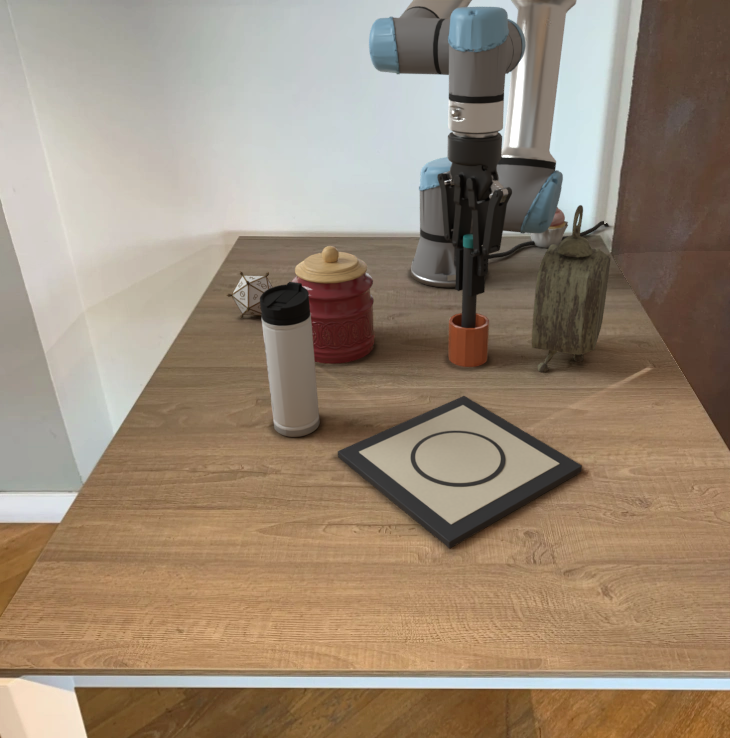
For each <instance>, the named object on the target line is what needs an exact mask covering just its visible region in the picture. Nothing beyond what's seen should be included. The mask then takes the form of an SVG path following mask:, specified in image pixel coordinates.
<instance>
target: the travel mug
mask: <svg viewBox="0 0 730 738" xmlns="http://www.w3.org/2000/svg"><path fill="white" fill-rule="evenodd" d="M260 306H261V312H262V313H261V315H260V316H261V326H262V334H263V342H264V352H265V360H266V369H267V377H268V387H269V394H270V404H271V411H272V417H273V419H272V420H273V428H274V430H275V432H277V433H278V434H279V435H281V436H284V437H289V438H299V437H304V436H308V435H310V434H312V433H313V432H315V431H316V430H317V429H318V428H319V426H320V423H321V422H320V410H319V398H318V386H317V375H316V374H317V373H316V362H315V360H314V348H313V336H312V324H311V313H310V305H309V293H308V291H307V289H306V288H304V287H302V283H296V282H292V281H289V282H288V283H286V284H280V285H276V286H272V288H270V289H268V290H266V291H265V292H264V293H263V294H262V295H261V297H260Z"/></svg>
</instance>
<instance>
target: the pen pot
mask: <svg viewBox="0 0 730 738" xmlns="http://www.w3.org/2000/svg"><path fill="white" fill-rule="evenodd" d="M461 322H462V312H459V313H456V314H454V315H452V316H450V317H449V320H448V341H447V342H448V345H447V346H448V347H447V351H448V352H447V358H448V360H449V362H451V363H452V364H453V365H456V366H458V367H464V368H473V367H479V366H483V365H484V364H485V363H487V361H488V357H489V340H490V319H489V318H488V317H487V316H485V315H484V314H481V313H477V312H476V326H475V328H463V327H461Z"/></svg>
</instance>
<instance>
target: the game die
mask: <svg viewBox="0 0 730 738" xmlns="http://www.w3.org/2000/svg"><path fill="white" fill-rule="evenodd" d="M239 275H240V276H241V277H240V279H239V280H238V282H237V284H236V286H235V287H234V289H233V291H232V293H227V294H226V296H227V297H228V298H232V299H233V301H234V303H235V305H236V306H237V308H238V310H239V312H240V313H241V314H240V316H239V319H243V318H244V316H262V315H261V313H262V312H261V306H260V297H261V295H262V294H263V293H264V292H265V291H266V290H268V289H270V288H272V287H273V285H272V283H271V282H270V279H269V278H268V277H269V275H270V272H269V271H267V272H266V273H265V275H258V274H257V275H255V274H254V275H253V274H251V275H249V274H244V273H243V271H241V270H240V271H239Z"/></svg>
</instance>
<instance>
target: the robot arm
mask: <svg viewBox="0 0 730 738" xmlns="http://www.w3.org/2000/svg"><path fill="white" fill-rule="evenodd" d="M472 1H473V0H412V1H411V2H410V4H409V5H408V6H407V7H406V8H405V10H404V11H403V13H402V14H400V16H399V17H395V16H389V17H380V18H377V19H376V20H375V21H374V22H373V23H372V25H371V28H370V30H369V37H368V48H369V49H368V50H369V58H370V61H371V63H372V65H373V68H374V69H375V70H377V71H378V72H382V73H391V74H396V75H400V74H401V75H403V74H404V75H443V76H448V111H447V112H448V113H447V114H448V115H447V116H448V117H447V119H448V120H447V128H448V130H450V131H451V132H449V134H448V135H447V156H444V157H440V158H435V159H432V160H431V161H428V162H426V163H425V164H424V165H423V166H422V167H421V169H420V175H419V177H420V178H419V186H418V191H419V240H418V243H417V246H416V250H415V254H414V257H413V259H412V261H411V264H410V265H411V266H410V274H411V277H412V279H414V281H416V282H417V283H420V284H423V285H426V286H429V287H436V288H444V289H445V288H446V289H447V288H448V289H451V288H452V289H454V288H455V290H456V291H457V292H462V286H463V251H464V247H463V236H464V235H466V234H473V252H470V254H469V280H468V295H469V296H471V297H472V296H475V295H477V296H478V295H480V294H484V293H485V289H486V276H487V275H488V272H489V260H493V259H496V258H497V259H498V258H505V257H508V256H510V255H512V254H514V253H515V252H516V251H518V250H520V249H522V248H525V247H530V246H535V242H534V241H532V240H530V241H525V242H521V243H518V244H516V245H515V246H514V247H512V248H511V249H508V250H506V251H503V252H500V250H501V245H502V239H503V233H504V232H511V233H520V234H523V235H524V234H531V233H543V232H545V231H546V230H547V229H548V228H549V227H550V225H551V223H552V221H553V218H554V215H555V212H556V209H557V207H558V206H559V202H560V197H561V192H562V186H563V181H564V174H563V173H562V172H561V171H559V170H556V167H557V160H556V159H555V157H554V156H553V154H551V151H550V150H551V149H550V148H551V139H552V133H553V125H554V123H553V122H554V117H555V115H554V114H555V108H556V98H557V90H558V82H559V75H560V67H561V59H562V58H561V57H562V51H563V50H562V49H563V44H564V43H563V41H564V33H565V25H566V17H567V14H568V12H569V11H570V10H571V9H573V7H574V6H575V5H576V4H577V0H510V2H511V3H512V4H513V6H514V7H515V8H516V10H517V17H516V22H515V21H514V20H512V19H510V18H509V15H508V12H507V10H506V9H505V8H504V7H500V6H469V5H470V4H471V3H472ZM506 74H507V75H508V74H510V80H509V89H508V100H507V107H506V108H507V109H506V117H505V127H504V113H505V112H504V108H505V107H504V106H505V87H506ZM503 129H504V135H502V134H501V133H500V132H501V131H502V130H503ZM604 221H605V220H601V221H599V222H598V223H596V224H595V225H594V226H593V227H590V228H588V229H586V230H584V231H581V232H580V236H581V237H583V238H584V237H585V236H587V235H589V234H591V233H593V232H595V231H597V230H598V229H599V228H601V227H602V226H604V227H606V228H607V227H610V225H609V223H608V222H607V223H606V224H604ZM568 236H569V235H567V236H563V237H562V240H563V239H565V238H566V237H568ZM570 236H572V234H571V235H570ZM562 240H561V241H562Z"/></svg>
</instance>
